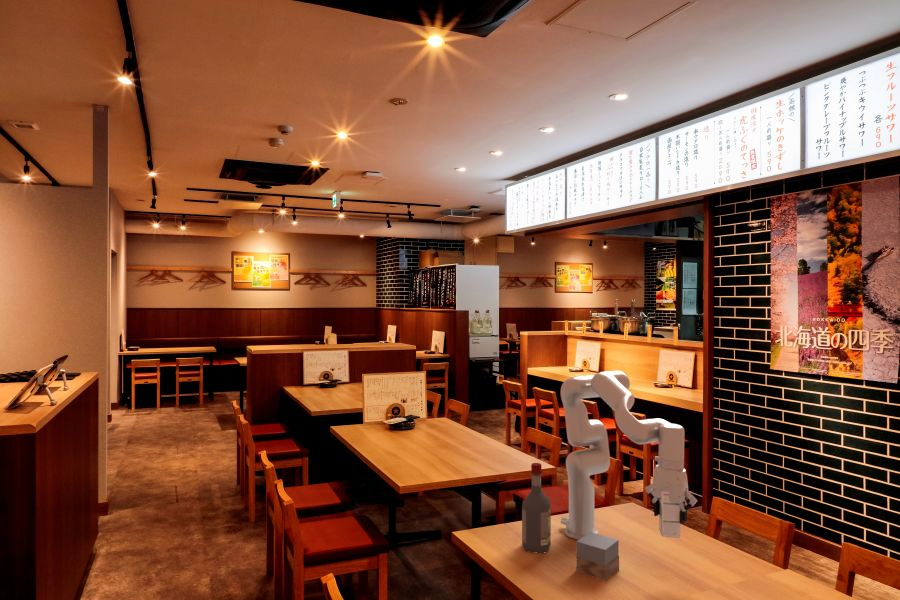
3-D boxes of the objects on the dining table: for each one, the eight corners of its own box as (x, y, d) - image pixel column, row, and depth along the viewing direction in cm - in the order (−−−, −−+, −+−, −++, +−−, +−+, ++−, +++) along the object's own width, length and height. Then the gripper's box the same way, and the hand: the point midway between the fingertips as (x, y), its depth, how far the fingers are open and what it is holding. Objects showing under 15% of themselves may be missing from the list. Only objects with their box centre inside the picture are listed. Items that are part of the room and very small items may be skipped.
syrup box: (680, 538, 181) (682, 492, 181) (660, 536, 182) (662, 491, 182) (677, 531, 187) (678, 486, 186) (658, 529, 188) (659, 484, 187)
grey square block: (576, 556, 190) (576, 541, 190) (590, 546, 198) (590, 532, 198) (605, 565, 183) (605, 549, 183) (618, 555, 191) (618, 539, 191)
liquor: (520, 550, 205) (520, 466, 205) (527, 541, 214) (527, 459, 214) (546, 555, 202) (546, 469, 202) (551, 545, 210) (551, 462, 210)
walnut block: (576, 571, 190) (576, 556, 190) (591, 561, 198) (591, 546, 198) (604, 581, 184) (604, 565, 184) (619, 570, 191) (619, 555, 191)
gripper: (639, 460, 187) (638, 514, 188) (694, 472, 175) (692, 530, 175) (650, 455, 193) (648, 507, 193) (703, 467, 180) (702, 523, 181)
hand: (669, 518), depth 184 cm, fingers closed on syrup box, 7 cm apart
